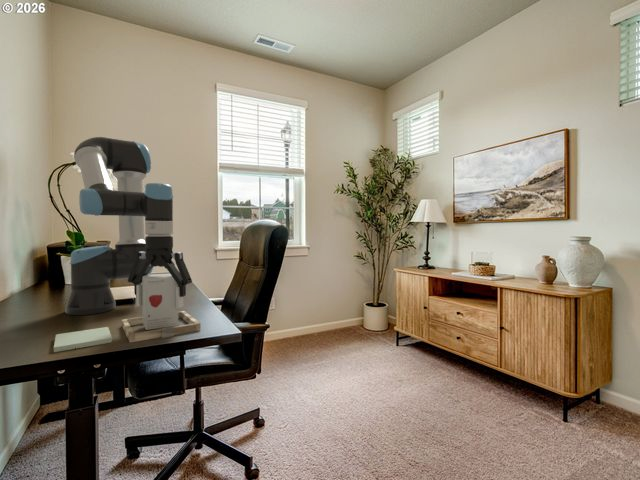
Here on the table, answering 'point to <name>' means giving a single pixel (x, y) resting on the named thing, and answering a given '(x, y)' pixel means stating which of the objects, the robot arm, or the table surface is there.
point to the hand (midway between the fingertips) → (160, 306)
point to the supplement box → (159, 301)
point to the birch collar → (163, 332)
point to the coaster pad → (82, 339)
